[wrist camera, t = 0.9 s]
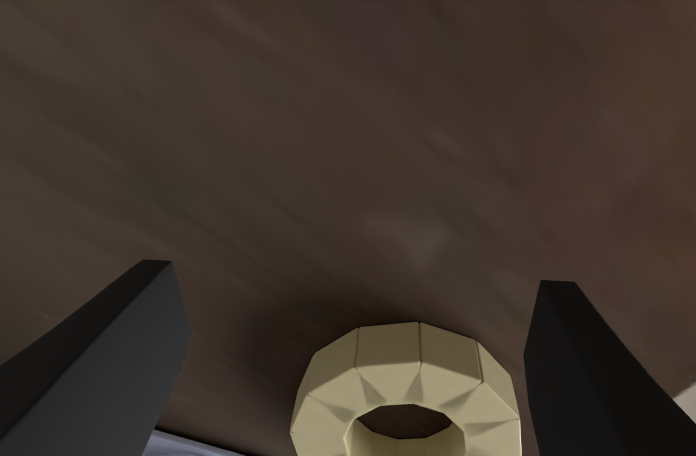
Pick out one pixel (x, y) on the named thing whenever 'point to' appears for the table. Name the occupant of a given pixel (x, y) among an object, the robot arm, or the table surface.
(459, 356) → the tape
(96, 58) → the table surface
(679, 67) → the table surface
